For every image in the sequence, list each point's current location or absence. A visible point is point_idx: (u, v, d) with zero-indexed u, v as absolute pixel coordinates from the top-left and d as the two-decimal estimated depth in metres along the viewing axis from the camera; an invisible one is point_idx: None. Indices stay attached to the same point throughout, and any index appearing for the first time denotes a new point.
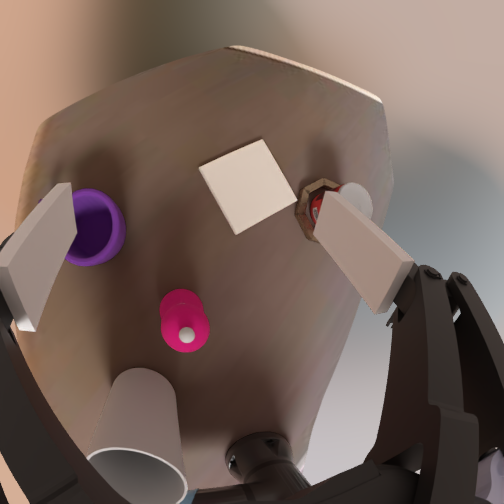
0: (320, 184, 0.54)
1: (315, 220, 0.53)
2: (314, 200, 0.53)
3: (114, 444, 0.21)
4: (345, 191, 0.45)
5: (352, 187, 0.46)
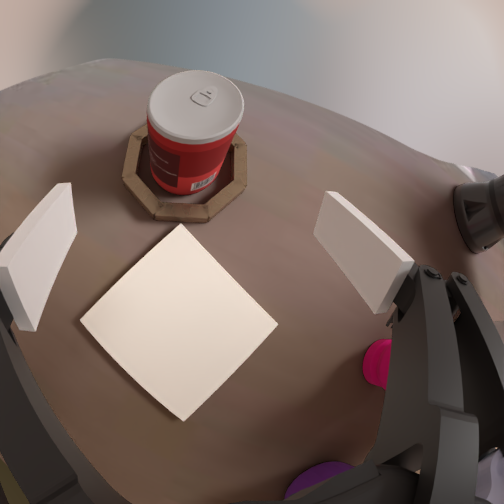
0: (137, 181, 0.25)
1: (210, 182, 0.28)
2: (173, 189, 0.26)
3: None
4: (174, 125, 0.18)
5: (160, 111, 0.18)
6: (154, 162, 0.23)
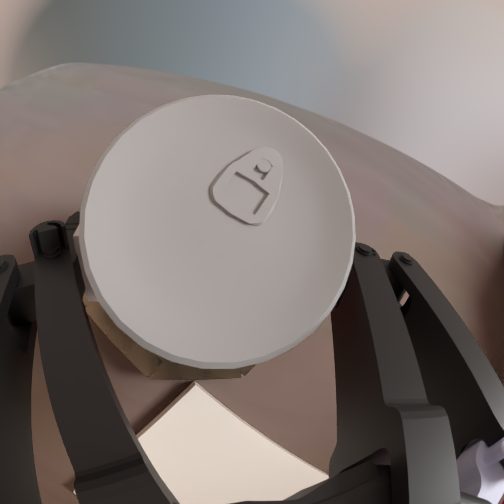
0: None
1: None
2: None
3: None
4: (171, 314, 0.06)
5: (120, 256, 0.06)
6: None
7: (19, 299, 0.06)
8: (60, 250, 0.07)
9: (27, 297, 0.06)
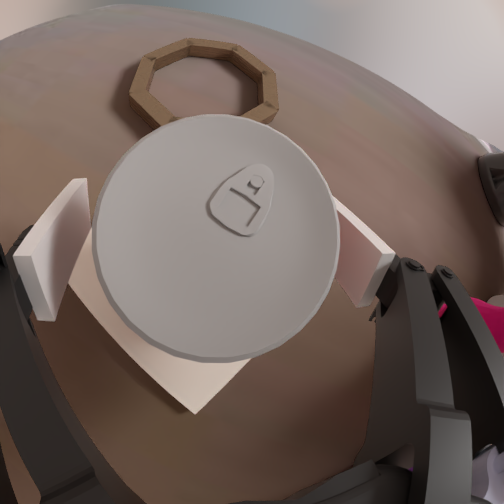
0: (147, 96, 0.19)
1: None
2: None
3: None
4: (173, 315, 0.07)
5: (129, 264, 0.07)
6: None
7: None
8: (0, 270, 0.05)
9: None
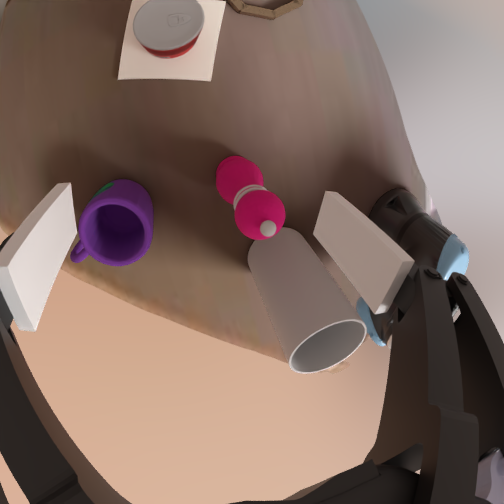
0: None
1: (167, 58, 0.30)
2: None
3: (296, 341, 0.35)
4: (142, 27, 0.20)
5: (145, 13, 0.19)
6: None
7: None
8: None
9: None
